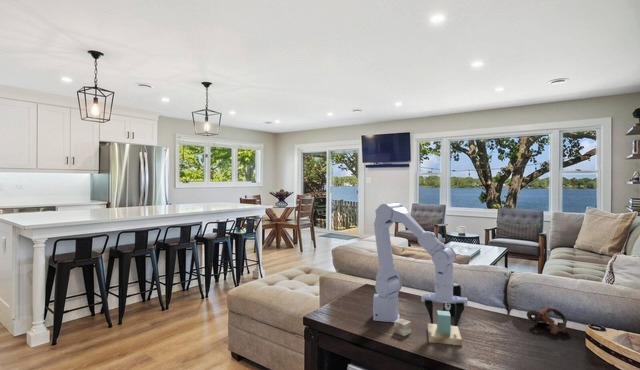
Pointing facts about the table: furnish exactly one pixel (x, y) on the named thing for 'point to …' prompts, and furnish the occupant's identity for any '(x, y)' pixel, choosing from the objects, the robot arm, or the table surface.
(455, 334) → the cream square slab
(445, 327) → the teal block
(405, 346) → the table surface
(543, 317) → the rusty metal shackles
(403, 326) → the cream cube
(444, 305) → the beverage can
